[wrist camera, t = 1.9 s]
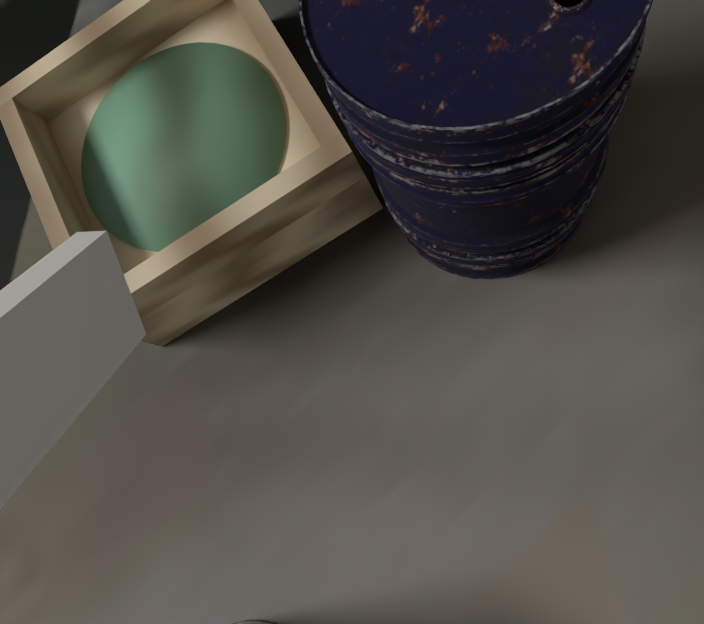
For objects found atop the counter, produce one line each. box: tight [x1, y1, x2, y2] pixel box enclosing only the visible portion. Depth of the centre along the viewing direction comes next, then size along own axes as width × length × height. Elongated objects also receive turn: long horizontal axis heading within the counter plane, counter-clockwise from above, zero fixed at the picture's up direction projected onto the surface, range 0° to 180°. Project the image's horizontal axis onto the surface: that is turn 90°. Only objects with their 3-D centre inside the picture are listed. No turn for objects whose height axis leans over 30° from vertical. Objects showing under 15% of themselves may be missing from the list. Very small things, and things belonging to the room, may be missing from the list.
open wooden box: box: [0, 0, 383, 347], centre depth 32 cm, size 14×14×6 cm
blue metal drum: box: [299, 0, 653, 279], centre depth 24 cm, size 10×10×15 cm
